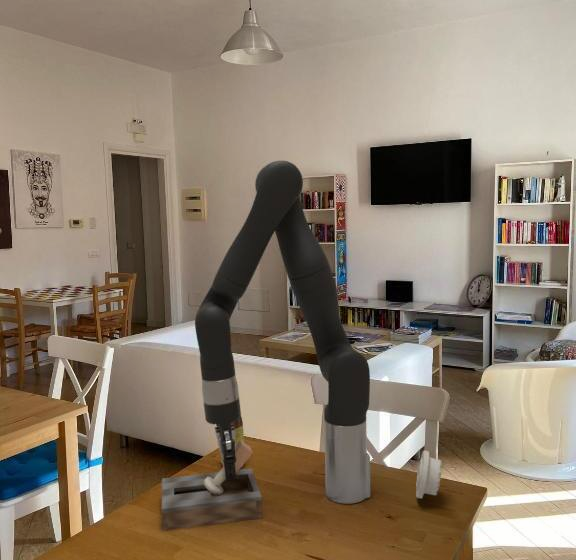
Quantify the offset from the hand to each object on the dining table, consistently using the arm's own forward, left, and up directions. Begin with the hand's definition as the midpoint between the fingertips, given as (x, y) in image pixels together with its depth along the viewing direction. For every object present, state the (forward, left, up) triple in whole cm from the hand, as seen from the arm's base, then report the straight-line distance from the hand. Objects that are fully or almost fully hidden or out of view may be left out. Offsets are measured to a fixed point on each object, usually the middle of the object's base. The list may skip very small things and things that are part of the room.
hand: (230, 474), depth 121 cm
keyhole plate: (+4, 0, -7) cm, 8 cm away
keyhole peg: (+4, 0, -3) cm, 5 cm away
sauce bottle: (-3, -20, -7) cm, 21 cm away
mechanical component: (-42, +7, -7) cm, 43 cm away
